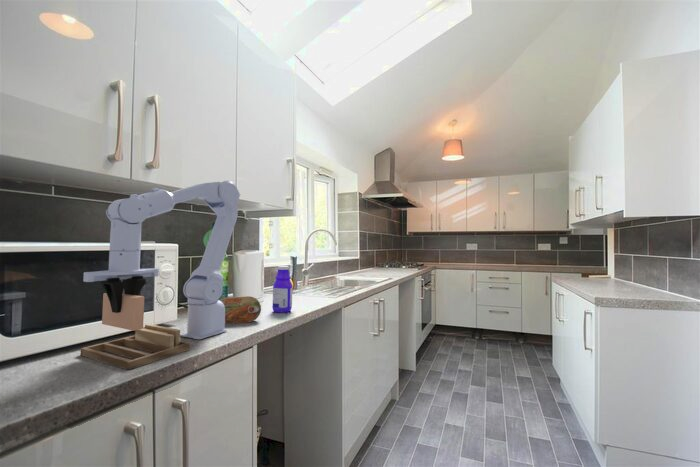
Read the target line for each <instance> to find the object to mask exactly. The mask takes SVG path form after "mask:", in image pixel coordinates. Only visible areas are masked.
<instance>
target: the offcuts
mask: <svg viewBox="0 0 700 467" xmlns="http://www.w3.org/2000/svg"><path fill="white" fill-rule="evenodd" d="M134 332H135V334H134V335H135V340H138V341H142V342H146V343H151V344H155V345H159V346H163V347H168V348H172V347H175V346H179V345H180V341H181V336H180V334H181V330H180V329H177V328H172V327H167V326H161V325H156V324H152V323H151V324H150V323H148V324H145V325H144V327H143V329H139V330H135V331H134Z"/></svg>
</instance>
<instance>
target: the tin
mask: <svg viewBox="0 0 700 467" xmlns="http://www.w3.org/2000/svg"><path fill="white" fill-rule="evenodd" d="M218 300H219V301H221V302H222V303H223V304H224V306H225V325H231V324H246V323H247V324H248V323H252V322H254V321H255V320H257V319H258V318H259V317H260V315H261V310H262V306H261V303H260V301H259V300H258V299H257V298H256V297H254V296H249V295H248V296H230V297H228V296H227V297H226V296H225V297H220V298H219V299H218Z"/></svg>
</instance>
